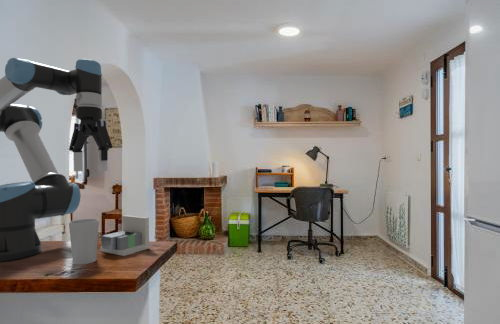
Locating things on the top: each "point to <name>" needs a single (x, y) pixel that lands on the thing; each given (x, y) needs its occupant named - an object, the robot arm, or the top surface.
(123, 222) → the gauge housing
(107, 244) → the grey rectangular slab
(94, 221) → the cup
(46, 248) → the top surface
